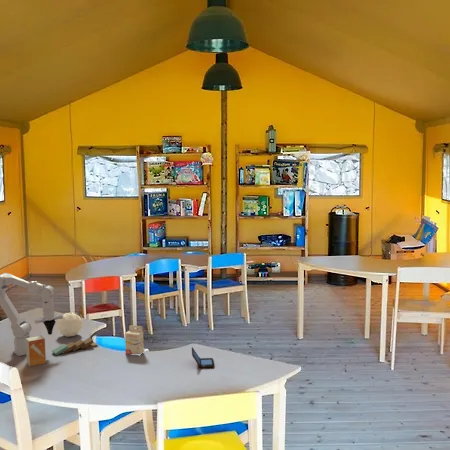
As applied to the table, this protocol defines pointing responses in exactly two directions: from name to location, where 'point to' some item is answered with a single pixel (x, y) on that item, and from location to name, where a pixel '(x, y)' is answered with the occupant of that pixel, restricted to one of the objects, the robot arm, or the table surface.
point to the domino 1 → (60, 349)
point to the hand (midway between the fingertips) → (50, 334)
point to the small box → (35, 350)
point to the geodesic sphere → (70, 324)
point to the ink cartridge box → (134, 340)
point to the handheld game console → (203, 360)
